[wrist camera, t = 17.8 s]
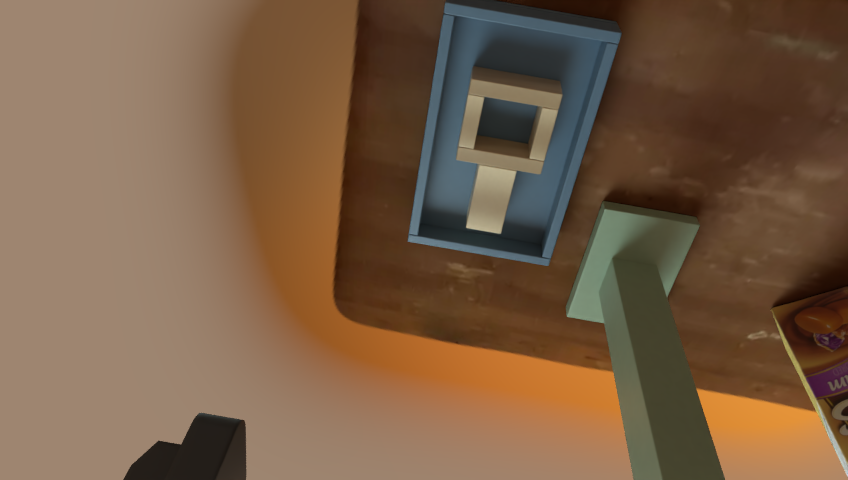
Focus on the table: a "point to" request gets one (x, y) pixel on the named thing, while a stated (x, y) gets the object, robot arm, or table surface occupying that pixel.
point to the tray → (509, 122)
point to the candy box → (821, 357)
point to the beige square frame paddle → (503, 141)
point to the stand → (646, 338)
